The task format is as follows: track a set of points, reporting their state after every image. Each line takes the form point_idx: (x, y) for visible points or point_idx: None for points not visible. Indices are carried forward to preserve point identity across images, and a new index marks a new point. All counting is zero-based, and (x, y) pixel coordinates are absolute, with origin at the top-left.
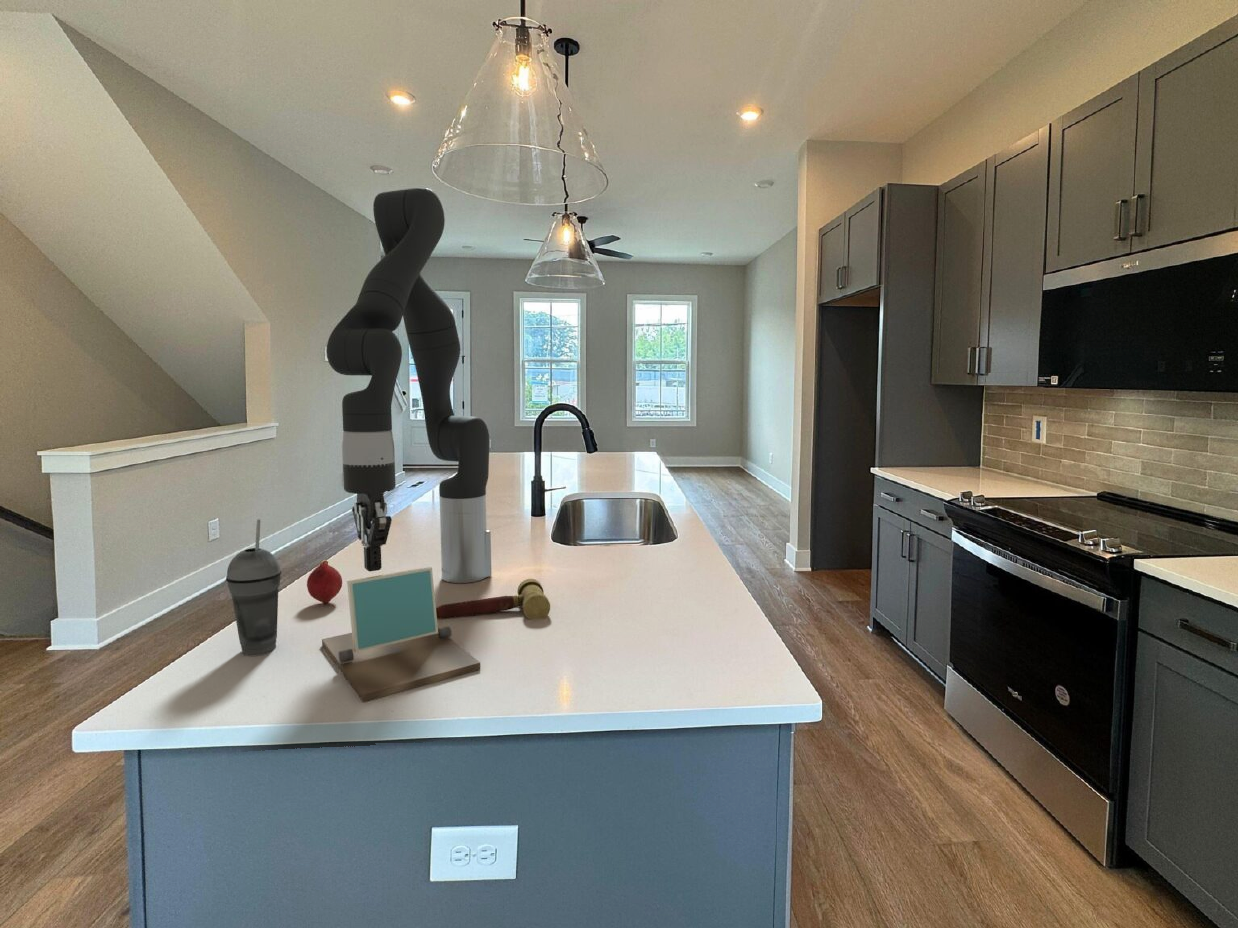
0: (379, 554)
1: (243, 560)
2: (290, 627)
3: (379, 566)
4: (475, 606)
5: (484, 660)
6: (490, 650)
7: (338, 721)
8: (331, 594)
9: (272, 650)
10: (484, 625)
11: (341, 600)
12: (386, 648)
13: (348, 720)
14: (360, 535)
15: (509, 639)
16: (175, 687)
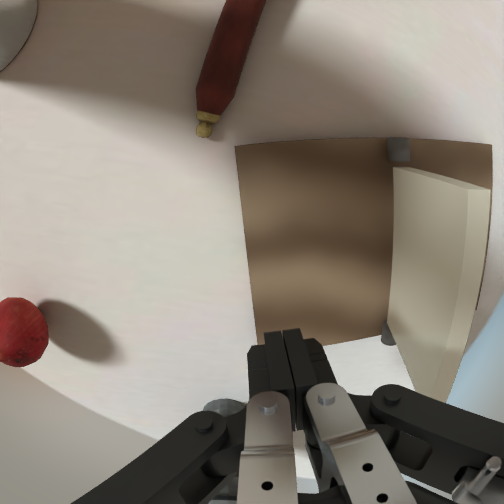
0: (331, 370)
1: None
2: (142, 376)
3: (316, 340)
4: (254, 23)
5: (465, 122)
6: (440, 93)
7: (482, 328)
8: (43, 317)
9: (239, 402)
10: (322, 39)
11: (29, 285)
12: (372, 261)
13: (486, 320)
14: (236, 473)
15: (412, 42)
16: (298, 460)
